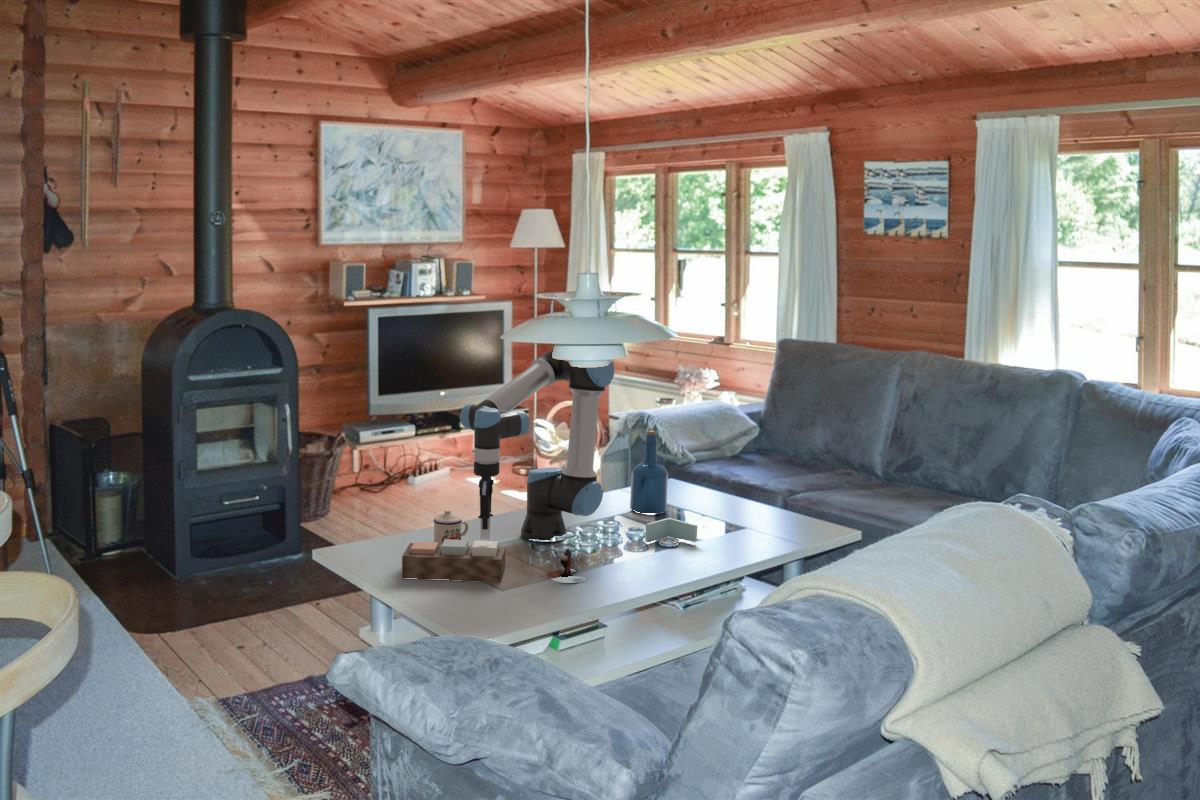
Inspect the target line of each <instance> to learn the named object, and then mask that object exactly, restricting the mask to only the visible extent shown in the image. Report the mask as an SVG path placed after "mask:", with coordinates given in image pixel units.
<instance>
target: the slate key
mask: <svg viewBox="0 0 1200 800" xmlns="http://www.w3.org/2000/svg"><path fill="white" fill-rule="evenodd" d="M468 545H469V540H468V539H461V540H450V539H445V540H444V542H443V544H442V546H441V555H461V556H466V555H467V553H468Z"/></svg>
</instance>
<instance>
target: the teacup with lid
mask: <svg viewBox="0 0 1200 800" xmlns="http://www.w3.org/2000/svg"><path fill="white" fill-rule="evenodd" d="M463 524H464V527H465V528H464V530H463V532H462V525H463ZM468 530H469V523H467V522H466V521H464V520H463V519H462V517H461V516H460V515H458V514H455V513H453V512H452V511H451V509H446V510H445V511H444V512H443V513H441V514H439V515H436V516H435V517H434V518H433V542H437V543H438V544H443V542H444V540H445V539H450V540H462V538H463V536H465V535H466V534H467V532H469V531H468Z"/></svg>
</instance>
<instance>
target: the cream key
mask: <svg viewBox="0 0 1200 800" xmlns="http://www.w3.org/2000/svg"><path fill="white" fill-rule="evenodd" d="M472 545H473V546H472V556H488V557H497V555H498V546H499V541H498V540H496V541H495V540H475V539H474V541H473V543H472Z"/></svg>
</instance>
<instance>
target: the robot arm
mask: <svg viewBox="0 0 1200 800" xmlns="http://www.w3.org/2000/svg"><path fill="white" fill-rule="evenodd" d="M553 350H554V348H552V349H550V350H549V351H546V352H545V353H543V354H541V355H539V356H538V357H536V358H535V359H534V360H533V361H532V362H531V365H530V366H529V367H528V368H527V369H526V370H523V372H521V373H520V374H518V375H517V376H516V377H514V378H513V379H512V380H510V381H509V382H508V383H506V384H504V385H503V386H501V387H500V388H499V389H497V390H496V391H494V393H492V394H490V395H489V396H487V398H485V399H484V400H482V401H481V402H480V403H478V404H470V403H469V404H466V405H464V406H463V408H462V409H461V410H460V415H459V421H460V424H461V425H462V426H463V427H464V428H465V429H469V430H472V431H473V432H474V433H473V435H474V439H473V441H474V442H473V443H474V444H473V449H472V450H471V453H474V454H473V460H474V462H473V474H474V475H475V476H477V477H481V479H479V481H478V488H479V490H478V491H479V511H480V512H479V515H478V516H477V518H478V519H480V537H479V539H480V540H481V541H491V540H490V539H491V518H492V517H493V515H494V514H493V513H492V494H493V490H494V489H493V487H494V479H492V477H496V476H498V475H499V474H500V462H499V461H500V459H501V440H503V439H508V438H514V437H519V436H522V435H524V434H526V433H527V432H528V431H529V429H530V425H531V424H530V423H531V422H530V418H529V415H528V414H527V413H526V412H525V411H523V410H517V409H515V408H516V407H518V406H519V405H520V404H521V403H523V402H524V401H526V400H527V399H528V398H530V397H531V396H533V395H534V394H535V393H537V392H538V391H539V390H541V389H542V388H543V387H545V386H551V385H553V384H554V383H556V382H559V381H566V382H568V383H569V385H568V389H569V390H570V392H571V393H572V403H571V415H570V424H569V425H570V427H569V435H568V437H569V438H568V447H567V448H568V449H567V460H566V467H564V469H562V468H561V467H542V468H536V469H535V468H534V469H532V470H530V471H529V473H528V474H527V482H526V515H525V518H524V519H523V523H522V527H521V530H520V537H521V536H522V537H523V538H522V537H521V538H522V539H523V540H525V541H528V540H529V539H539V540H550V539H551V538H553V537H554V536H562V535H564V534H566V535H567V528H566V525H565V522H564V518H563V512H565V513H568V514H572V515H575V516H581V517H582V516H583V517H588V516H591V515H592V514H594V513H595V512H596V511H597V509H598V508H599V507H600V506H601V503H602V500H603V497H604V489H603V487H602V485H601V483H599V481H597V479H598V474H597V472H596V471H595V470H594V461H595V460H594V459H595V450H596V438H597V429H598V418H599V408H600V407H599V406H600V397H601V395H602V394H604V393H605V391H606V387H608V386H610V384H611V383H612V380H613V379H614V376H615V363H614V361H612V362H611V363H610V364H609V365H608V366H604V367H597V368H578V367H572V366H570V364H569V363H568V362H567V361H564V360H556V359H553V358H552V352H553ZM513 409H515V410H513Z"/></svg>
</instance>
